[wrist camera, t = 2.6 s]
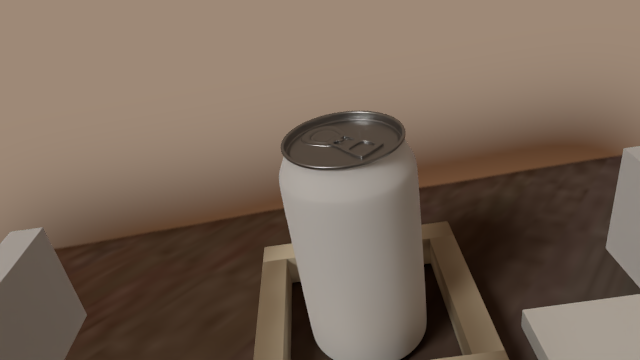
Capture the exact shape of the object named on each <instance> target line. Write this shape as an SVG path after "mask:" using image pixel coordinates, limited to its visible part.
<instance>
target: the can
mask: <svg viewBox="0 0 640 360" xmlns="http://www.w3.org/2000/svg"><path fill="white" fill-rule="evenodd" d="M404 138H405V129H404V126H403V125H402V123H401V122H400V121H399V120H397V119H395V118H394V117H392V116H389V115H386V114H383V113H378V112H371V111H346V112H338V113H332V114H328V115H324V116H320V117H317V118H314V119H311V120H309V121H307V122H304V123H302V124H300V125H299V126H297V127H295V128H294V129H292V130H291V131H290V132H289V133H288V134H287V135H286V136H285V137H284V139H283V141H282V143H281V152H282V154H283V156H284V157H283V161H282V164H281V168H280V172H279V184H280V189H281V195H282V200H283V204H284V209H285V213H286V218H287V222H288V227H289V231H290V236H291V240H292V245H293V249H294V254H295V258H296V263H297V267H298V272H299V276H300V280H301V285H302V289H303V293H304V298H305V302H306V306H307V311H308V315H309V319H310V323H311V327H312V331H313V335H314V338H315V340H316V342H317V344H318V346H319V347H320V349H321V350H322V351H323V352H324V353H325V354H326V355H328V356H329V357H330V358H332V359H334V360H400V359H402V358H404V357H405V356H407V355H408V354H409V353H411V352H412V351H413V350H414V349H415V348H416V347H417V346H418V344H419V343H420V341H421V340H422V338H423V336H424V333H425V330H426V324H427V313H426V294H425V277H424V260H423V244H422V229H421V214H420V199H419V185H418V172H417V164H416V158H415V155H414V153H413V151H412V149H411V148H410V146H409V145H408V143H407V142H406V140H405V139H404Z"/></svg>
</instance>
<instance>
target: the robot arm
mask: <svg viewBox="0 0 640 360" xmlns="http://www.w3.org/2000/svg"><path fill="white" fill-rule="evenodd" d="M606 249H607V250H608V251H609V253H610V254H611V255H612V256H613V257H614V258H615V260H616V261H617V262H618V263H619V264H620V265H621V267H622V268H623V269H624V270H625V271H626V272H627V274H628V275H629V276H630V277H631V278H632V279H633V281H634V282H635V283H636V284H637V285H638V286H639V288H640V146H638V147H631V148H624V150H623V155H622V161H621V166H620V172H619V177H618V183H617V188H616V194H615V199H614V205H613V210H612V216H611V221H610V227H609V232H608V238H607V244H606ZM86 316H87V314H86V312H85V310H84V308H83V306H82V304H81V302H80V300H79V298H78V296H77V294H76V292H75V290H74V288H73V286H72V284H71V282H70V280H69V279H68V277H67V275H66V273H65V271H64V269H63V267H62V265H61V263H60V261H59V259H58V257H57V255H56V253H55V251H54V249H53V247H52V245H51V243H50V241H49V239H48V237H47V235H46V233H45V231H44V229H43V228H36V229H28V230H21V231H13V232H10V233H9V234H8V235H7V237H6V238H5V239H4V240H3V241H2V242H1V244H0V360H64V359H65V357H66V355H67V353H68V351H69V349H70V347H71V345H72V343H73V341H74V339H75V337H76V335H77V333H78V331H79V329H80V327H81V325H82V324H83V322H84V320H85V318H86Z"/></svg>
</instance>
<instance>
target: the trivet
mask: <svg viewBox="0 0 640 360" xmlns="http://www.w3.org/2000/svg"><path fill="white" fill-rule="evenodd" d="M521 327H522V329H523V330H524V332H525V334H526V336H527V338H528V340H529V342H530V344H531V346H532V348H533V350H534V352H535V354H536V356H537V358H538V360H640V294H637V295H630V296H623V297H615V298H608V299H600V300H593V301H586V302H578V303H571V304H563V305H556V306H548V307H541V308H534V309H526V310H522V324H521Z"/></svg>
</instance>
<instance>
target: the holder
mask: <svg viewBox="0 0 640 360" xmlns="http://www.w3.org/2000/svg"><path fill="white" fill-rule="evenodd" d="M421 229H422V244H423V260H424V264H429V263H431V265H432V268H433V271H434V274H435V277H436V280H437V283H438V285H439V288H440V291H441V294H442V297H443V300H444V303H445V306H446V308H447V311H448V314H449V317H450V320H451V323H452V326H453V328H454V331H455V334H456V337H457V340H458V343H459V346H460V348H461V351H462V354H463V356H456V357H448V358H441V359H433V360H509V359H508V356H507V354H506V352H505V350H504V347H503V345H502V343H501V341H500V338H499V336H498V334H497V332H496V329H495V327H494V325H493V323H492V320H491V318H490V316H489V314H488V311H487V309H486V307H485V305H484V302H483V300H482V298H481V296H480V293H479V291H478V289H477V287H476V284H475V282H474V280H473V278H472V275H471V273H470V271H469V269H468V266H467V264H466V262H465V260H464V257H463V255H462V253H461V251H460V248H459V246H458V244H457V242H456V239H455V237H454V235H453V233H452V230H451V228H450V226H449V224H448V221H445V222H438V223H431V224H424V225H421ZM300 281H301V280H300V276H299V272H298V267H297V263H296V258H295V254H294V249H293V245H292V244H285V245H278V246H271V247H265V248H264V258H263V269H262V279H261V289H260V299H259V309H258V319H257V329H256V339H255V350H254V360H291V321H292V283H293V282H300Z"/></svg>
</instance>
